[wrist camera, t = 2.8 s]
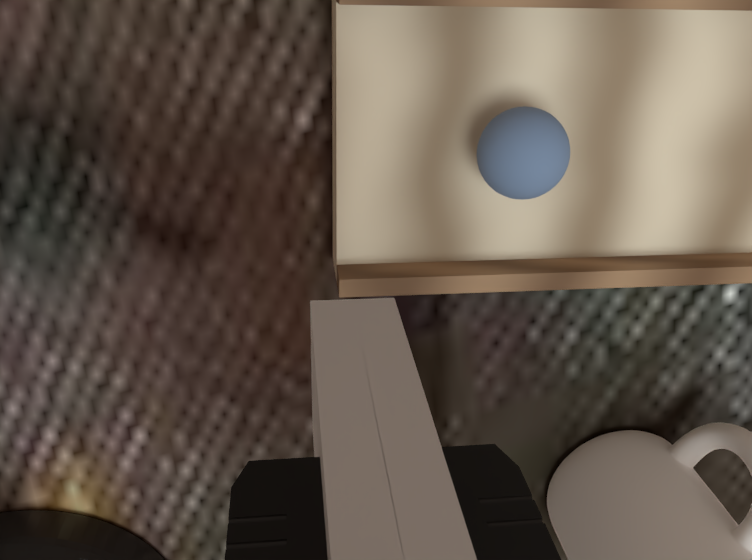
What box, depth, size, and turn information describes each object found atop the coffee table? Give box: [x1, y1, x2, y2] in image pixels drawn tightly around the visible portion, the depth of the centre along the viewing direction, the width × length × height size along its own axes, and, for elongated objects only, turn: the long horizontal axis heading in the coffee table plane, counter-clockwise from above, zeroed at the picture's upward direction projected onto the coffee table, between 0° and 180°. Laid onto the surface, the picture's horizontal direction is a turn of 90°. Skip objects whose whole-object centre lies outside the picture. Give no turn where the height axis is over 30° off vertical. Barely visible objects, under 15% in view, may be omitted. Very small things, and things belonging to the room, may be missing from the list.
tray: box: [332, 0, 752, 297], centre depth 30 cm, size 30×12×4 cm, turn 88°
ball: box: [477, 106, 570, 200], centre depth 27 cm, size 4×4×4 cm
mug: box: [547, 422, 752, 560], centre depth 36 cm, size 12×8×10 cm
